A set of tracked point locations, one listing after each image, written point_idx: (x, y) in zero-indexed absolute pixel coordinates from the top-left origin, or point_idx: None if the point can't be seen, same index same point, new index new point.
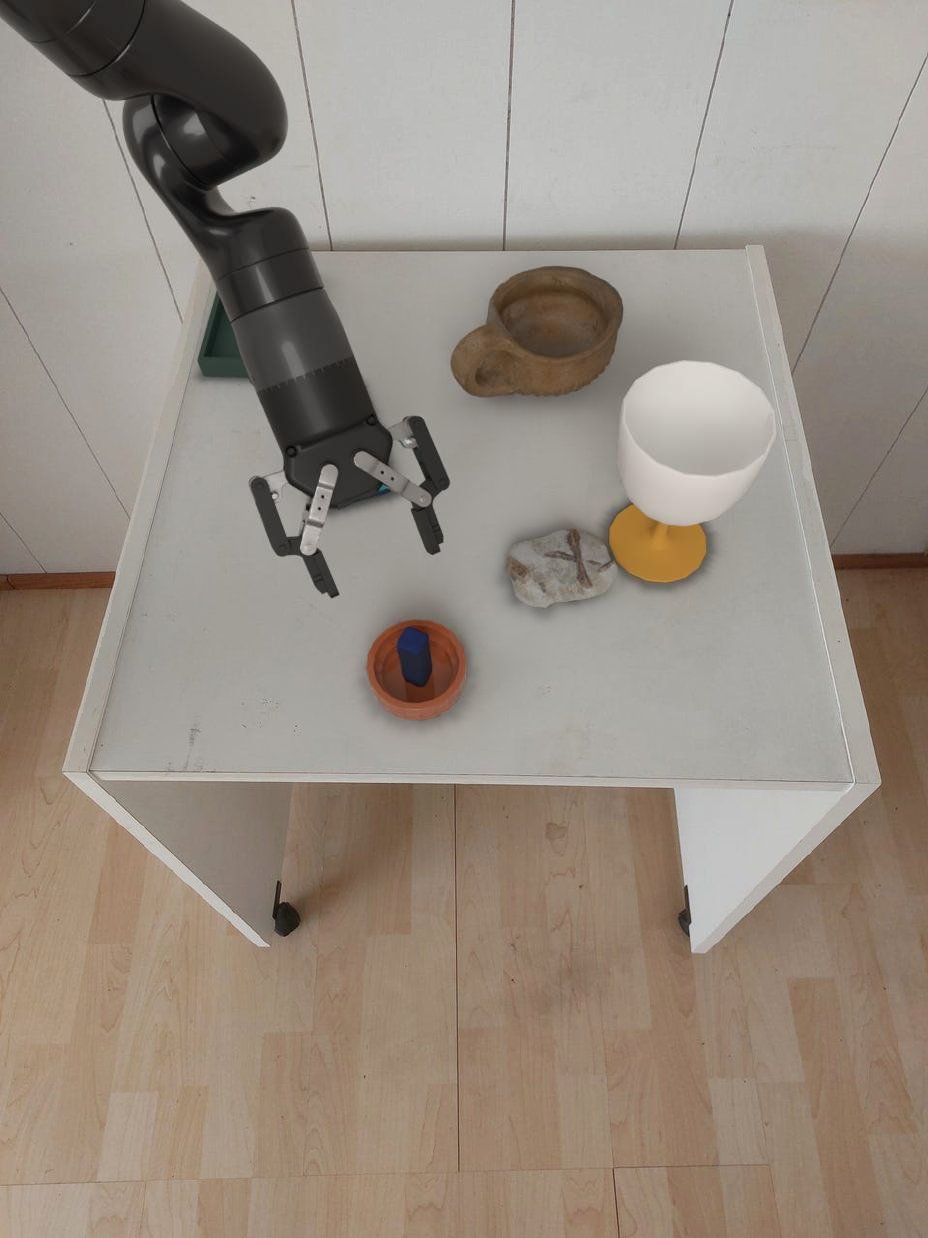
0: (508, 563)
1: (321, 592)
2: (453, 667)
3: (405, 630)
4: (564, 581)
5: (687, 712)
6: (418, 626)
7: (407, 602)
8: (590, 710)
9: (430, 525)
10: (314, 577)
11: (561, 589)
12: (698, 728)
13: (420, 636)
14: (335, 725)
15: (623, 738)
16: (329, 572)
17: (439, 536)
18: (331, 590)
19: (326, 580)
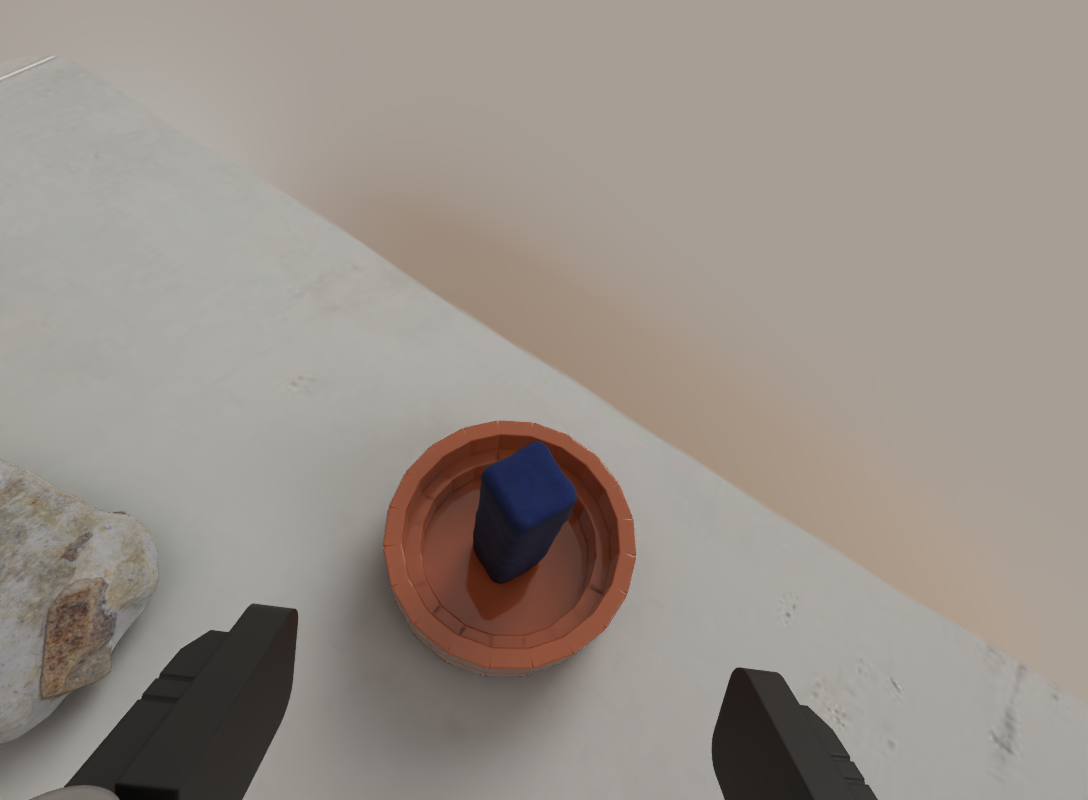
0: (70, 678)
1: (811, 712)
2: (436, 496)
3: (532, 519)
4: (15, 530)
5: (140, 219)
6: (446, 625)
7: (400, 779)
8: (270, 310)
9: (190, 691)
10: (853, 778)
11: (46, 520)
12: (155, 195)
13: (507, 474)
14: (712, 566)
15: (269, 249)
16: (790, 745)
17: (200, 656)
18: (776, 686)
19: (802, 725)
